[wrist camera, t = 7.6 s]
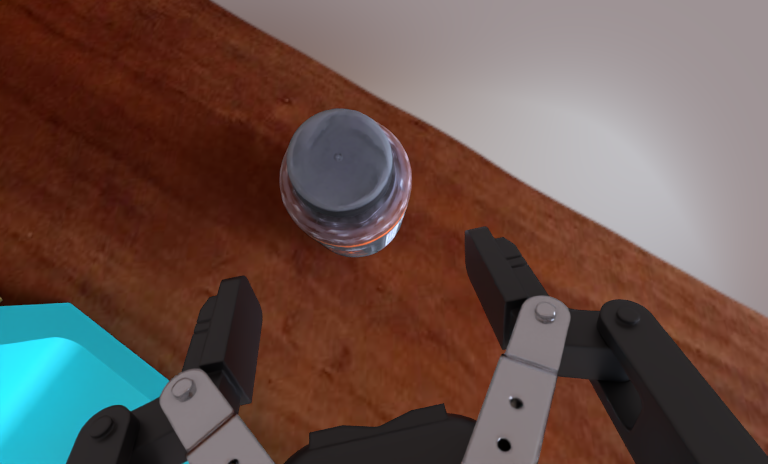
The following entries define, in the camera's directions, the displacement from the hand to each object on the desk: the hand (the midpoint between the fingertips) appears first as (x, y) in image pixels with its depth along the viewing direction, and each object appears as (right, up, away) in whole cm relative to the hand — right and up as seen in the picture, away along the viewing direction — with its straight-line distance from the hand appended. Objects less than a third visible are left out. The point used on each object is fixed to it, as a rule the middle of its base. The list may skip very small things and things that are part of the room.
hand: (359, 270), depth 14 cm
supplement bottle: (-1, +3, +12) cm, 12 cm away
